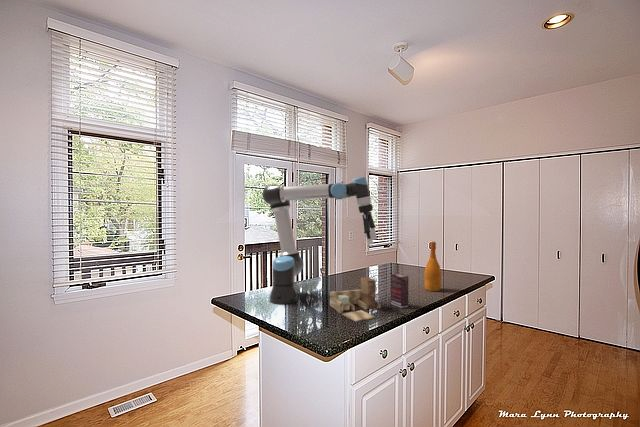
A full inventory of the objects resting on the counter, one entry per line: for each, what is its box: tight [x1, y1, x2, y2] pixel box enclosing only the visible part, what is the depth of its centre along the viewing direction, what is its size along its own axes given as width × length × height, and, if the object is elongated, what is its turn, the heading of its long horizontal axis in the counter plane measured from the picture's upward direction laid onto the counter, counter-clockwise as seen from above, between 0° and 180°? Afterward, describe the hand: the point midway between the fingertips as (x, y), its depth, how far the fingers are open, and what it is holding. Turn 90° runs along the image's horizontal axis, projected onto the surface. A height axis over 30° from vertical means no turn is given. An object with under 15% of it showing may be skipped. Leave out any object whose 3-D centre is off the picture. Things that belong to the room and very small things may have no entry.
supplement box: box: [390, 273, 409, 309], centre depth 177 cm, size 9×5×16 cm, turn 29°
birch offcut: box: [343, 303, 351, 312], centre depth 172 cm, size 4×7×4 cm, turn 18°
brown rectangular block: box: [360, 277, 377, 310], centre depth 176 cm, size 4×8×14 cm, turn 18°
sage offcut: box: [338, 295, 349, 304], centre depth 172 cm, size 4×5×3 cm
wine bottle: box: [423, 241, 442, 292], centre depth 211 cm, size 10×10×30 cm
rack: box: [329, 288, 381, 314], centre depth 174 cm, size 24×14×7 cm, turn 108°
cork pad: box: [341, 309, 376, 322], centre depth 160 cm, size 11×11×1 cm
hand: (372, 241), depth 190 cm, fingers open, 13 cm apart
